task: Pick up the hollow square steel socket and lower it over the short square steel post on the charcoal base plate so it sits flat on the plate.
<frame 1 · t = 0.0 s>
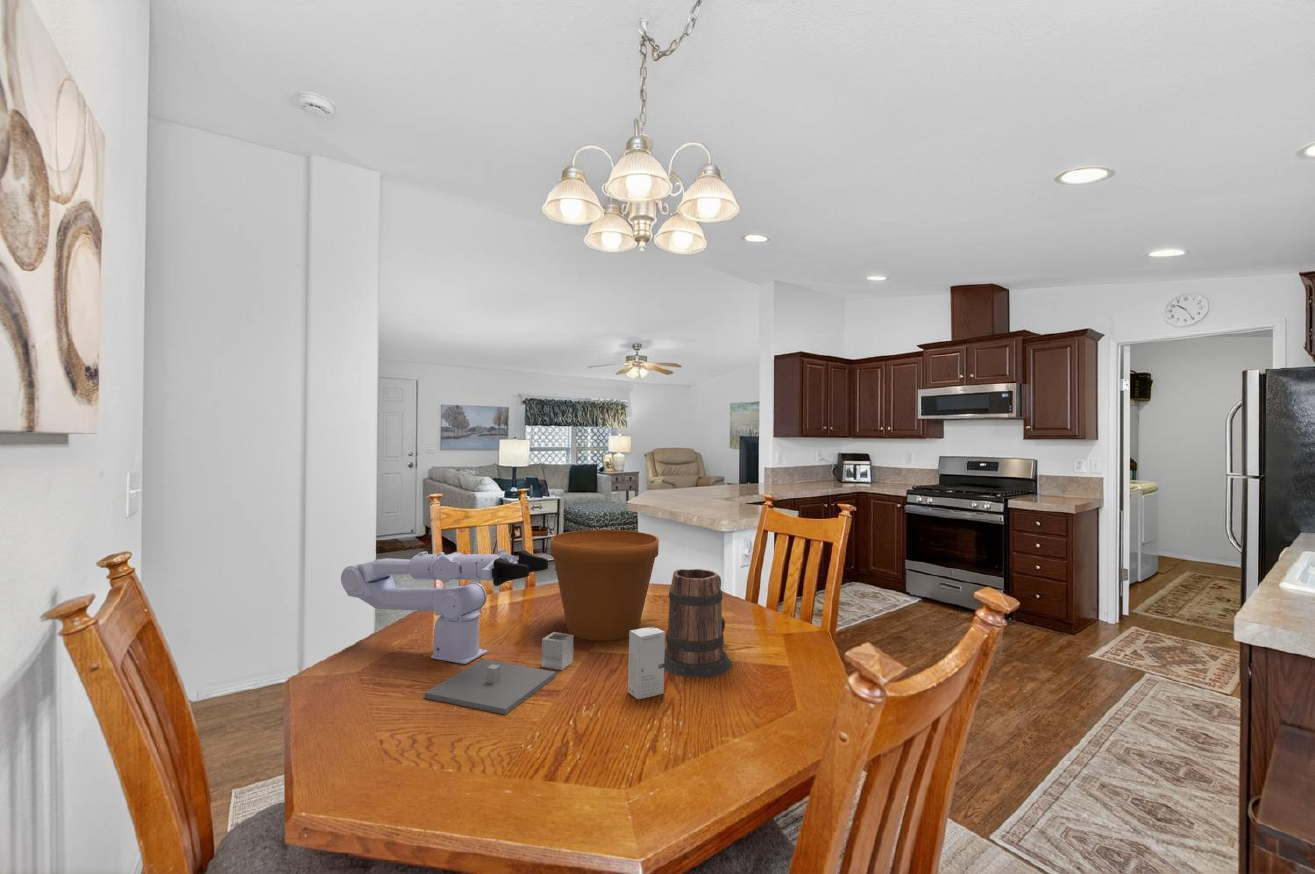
hand: (537, 567, 126), 22 cm above the table, tool horizontal, fingers open, 7 cm apart
skincare box: (645, 693, 115), on the table
flowerpot: (603, 629, 154), on the table
tankard: (700, 658, 134), on the table
square socket: (557, 664, 129), on the table
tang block: (493, 686, 117), on the table
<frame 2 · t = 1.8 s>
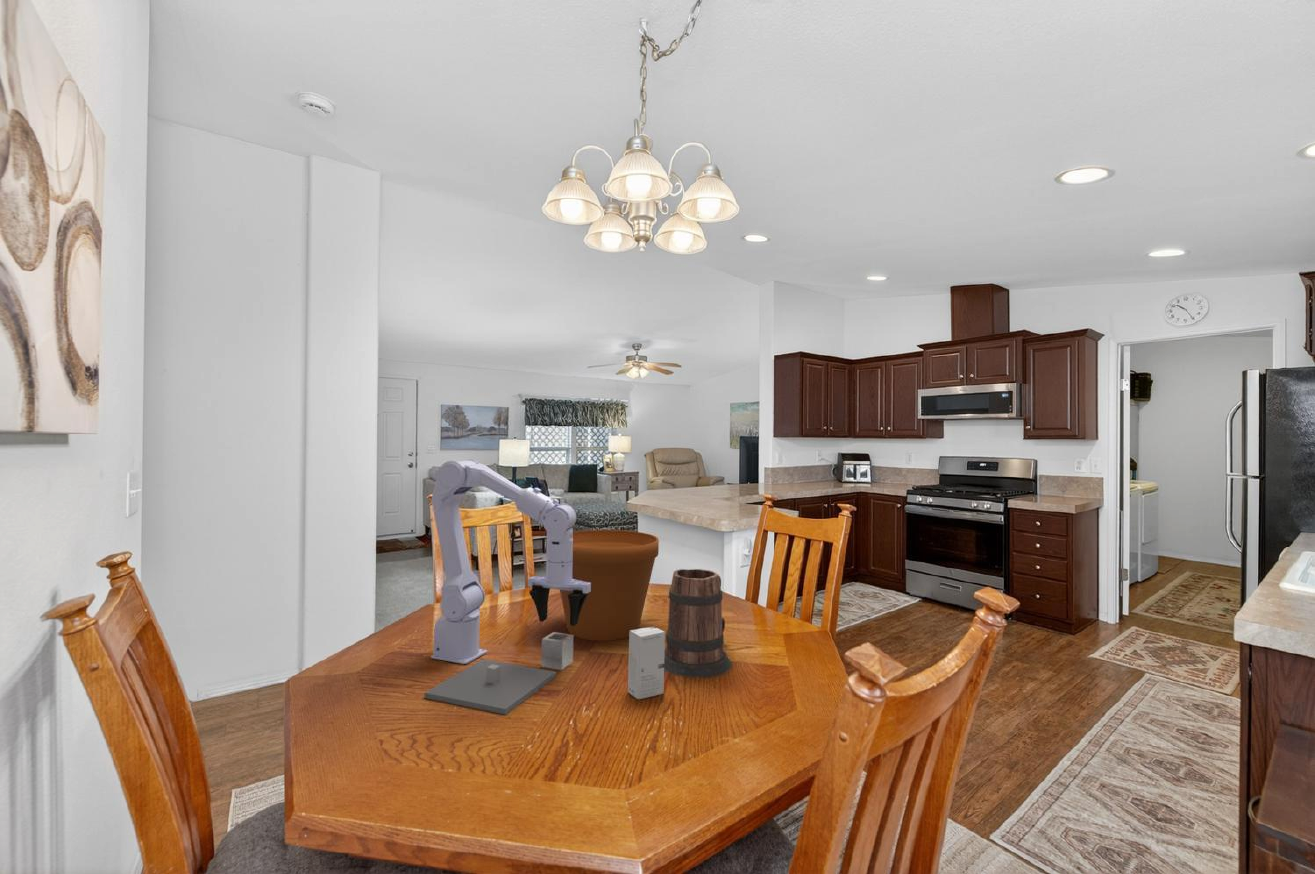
hand: (558, 622, 129), 9 cm above the table, tool pointing down, fingers open, 7 cm apart
nothing on the table moved.
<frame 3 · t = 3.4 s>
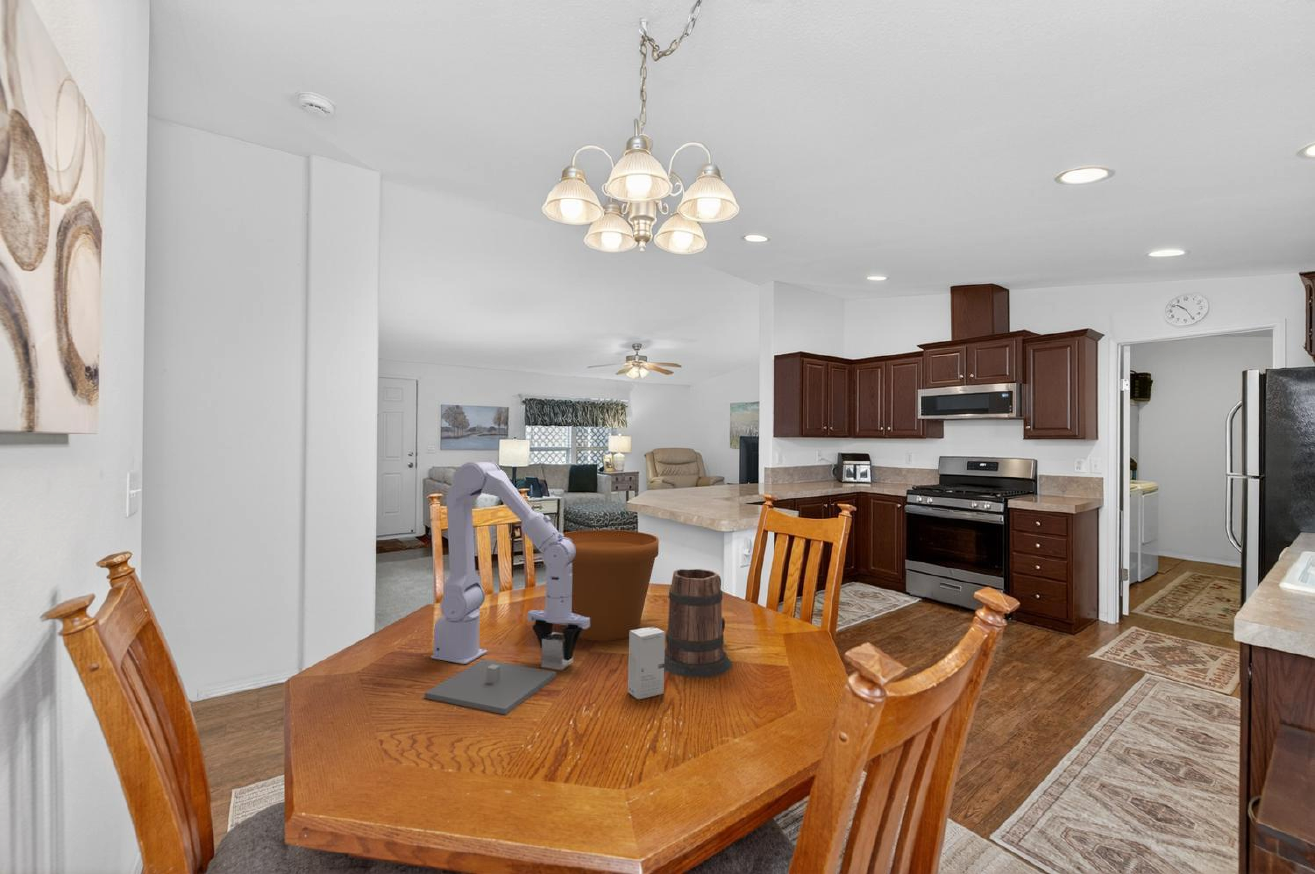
hand: (557, 656, 129), 2 cm above the table, tool pointing down, fingers closed on square socket, 5 cm apart
square socket: (557, 664, 129), on the table, touching gripper
everything else where it was.
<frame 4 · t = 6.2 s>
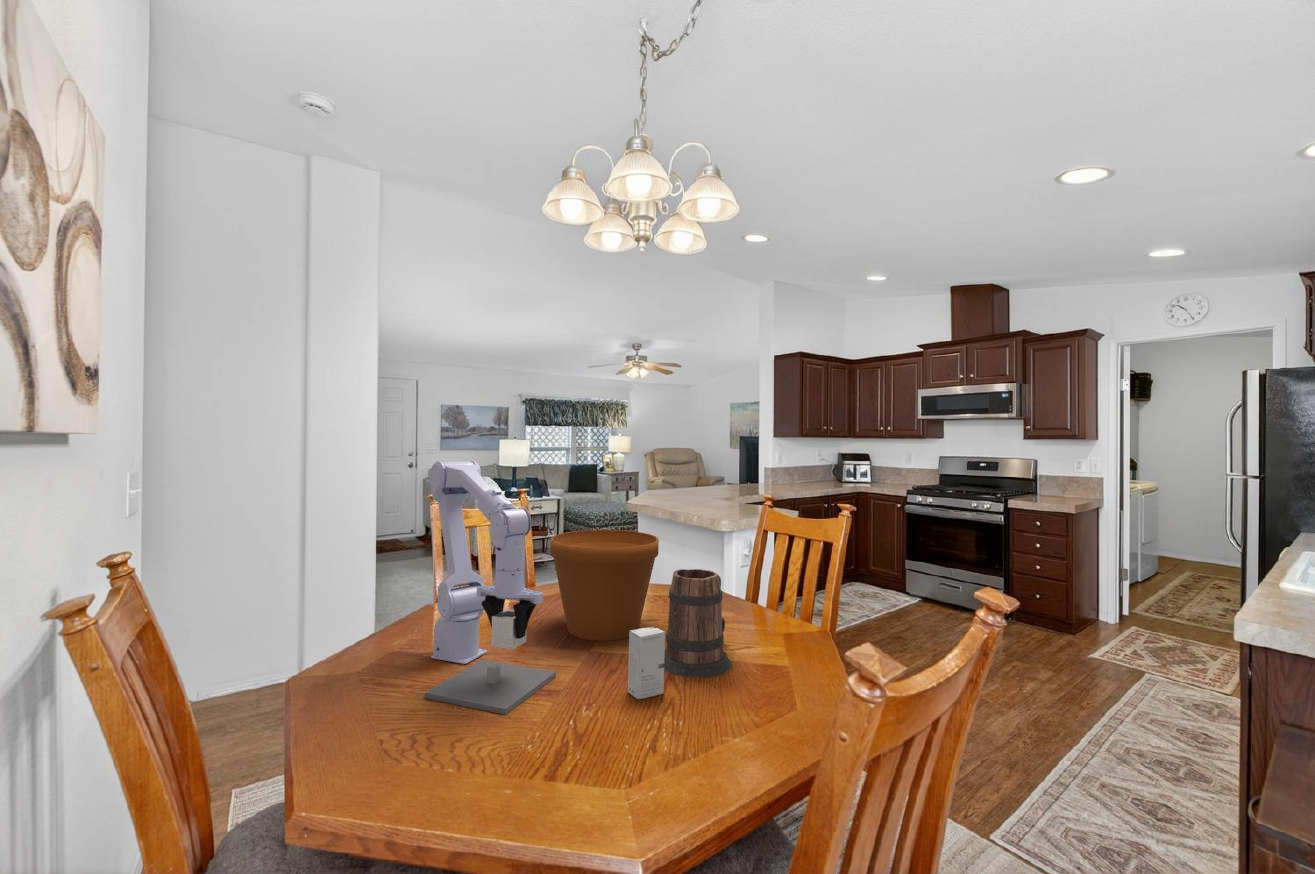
hand: (508, 635, 119), 9 cm above the table, tool pointing down, fingers closed on square socket, 5 cm apart
square socket: (509, 643, 119), point 8 cm above the table, touching gripper
everything else where it was.
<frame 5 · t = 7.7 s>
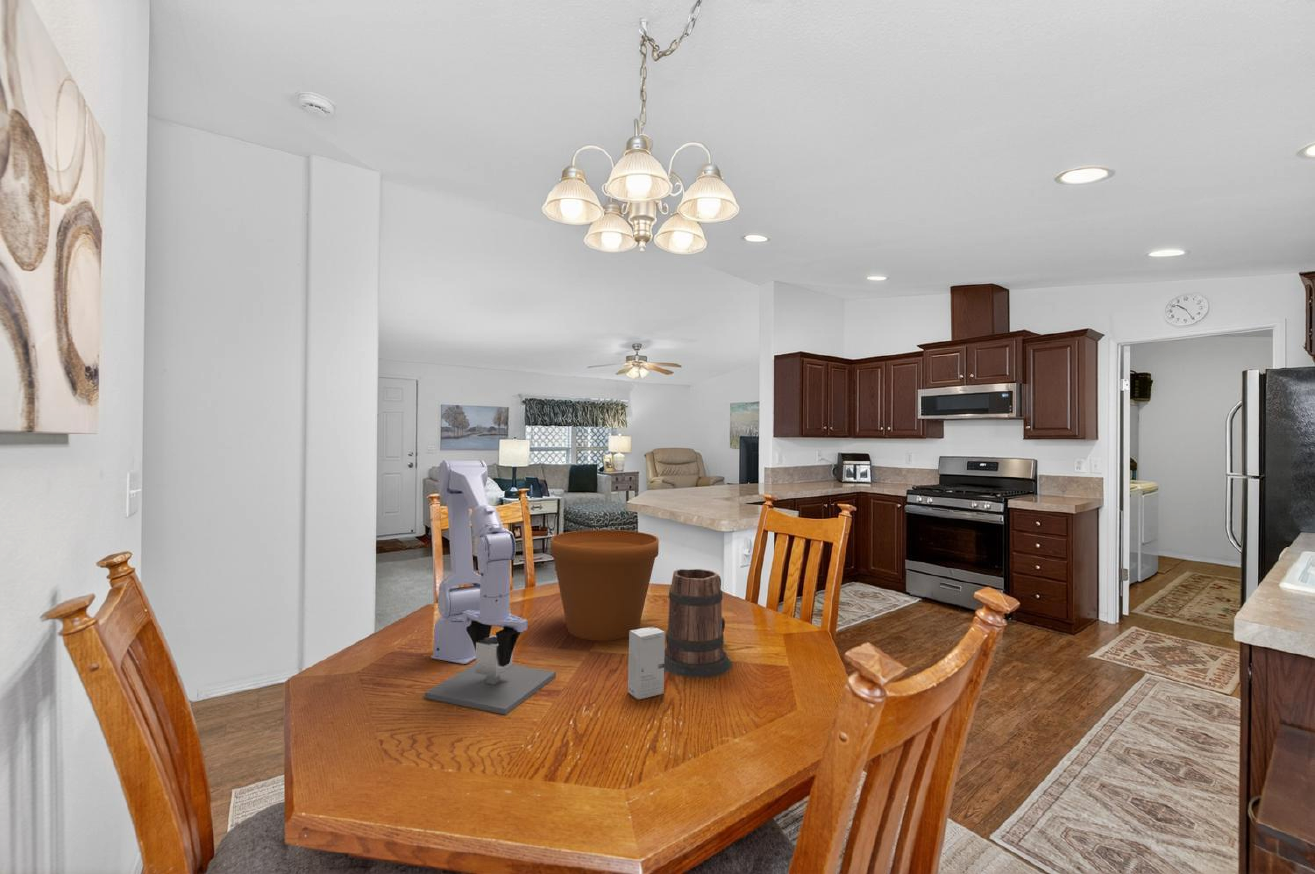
hand: (493, 662, 117), 5 cm above the table, tool pointing down, fingers closed on square socket, 5 cm apart
square socket: (494, 670, 117), point 3 cm above the table, touching gripper
everything else where it was.
when the fingers open (3 cm above the table, at t = 9.1 s): square socket stays where it is, resting on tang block.
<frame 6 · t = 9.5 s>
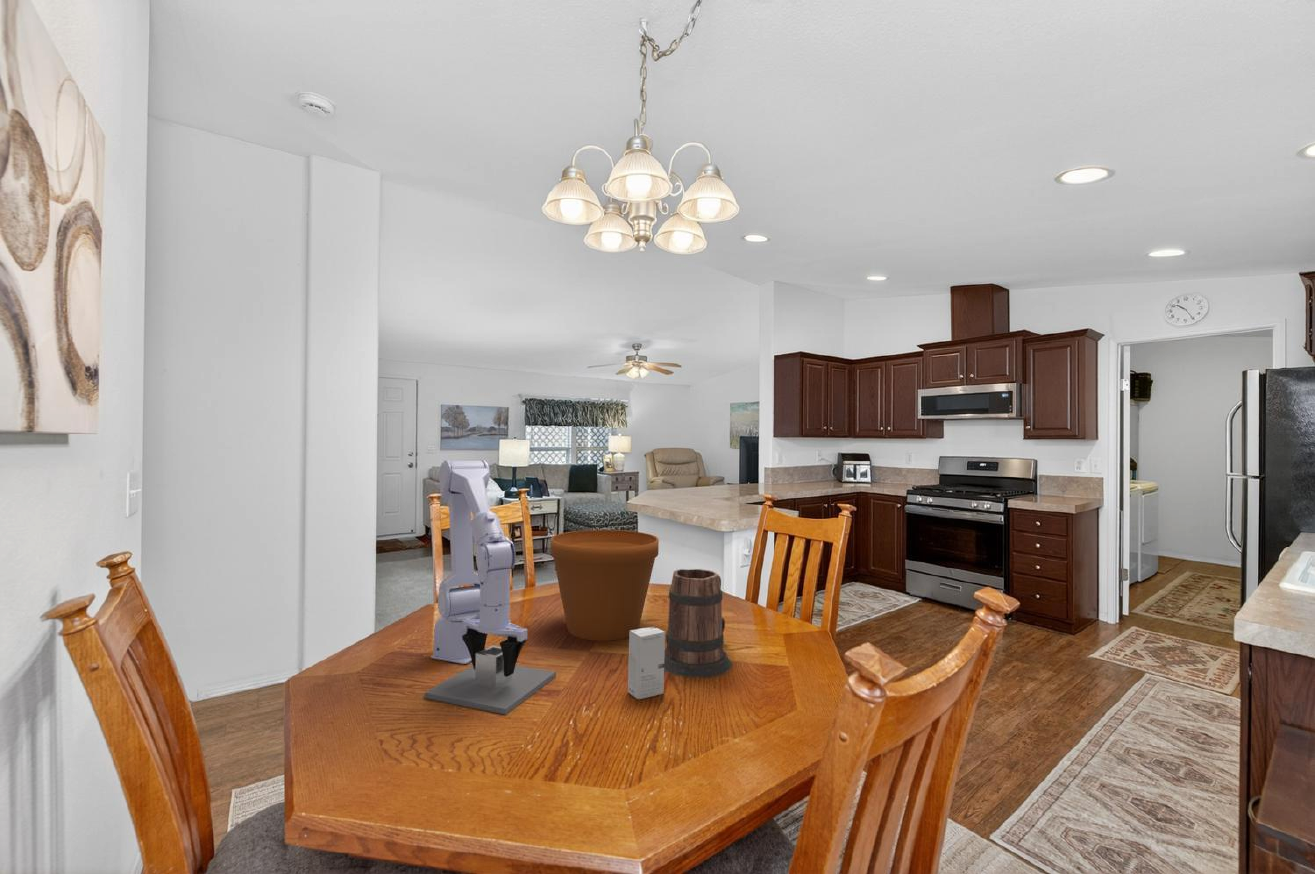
hand: (493, 671, 117), 3 cm above the table, tool pointing down, fingers open, 7 cm apart
square socket: (493, 681, 117), point 1 cm above the table, touching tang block
everything else where it was.
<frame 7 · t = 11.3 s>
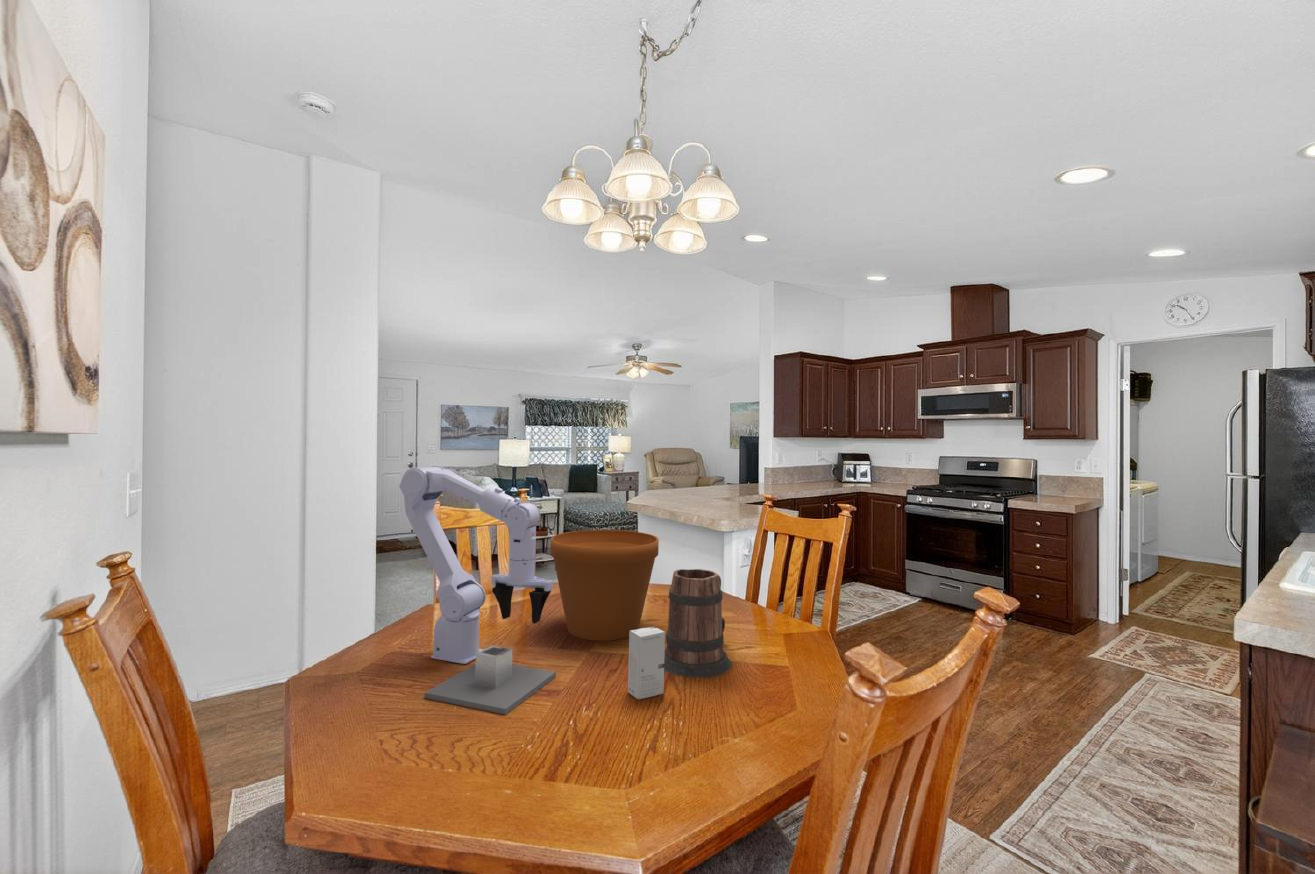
hand: (521, 620, 129), 9 cm above the table, tool pointing down, fingers open, 7 cm apart
nothing on the table moved.
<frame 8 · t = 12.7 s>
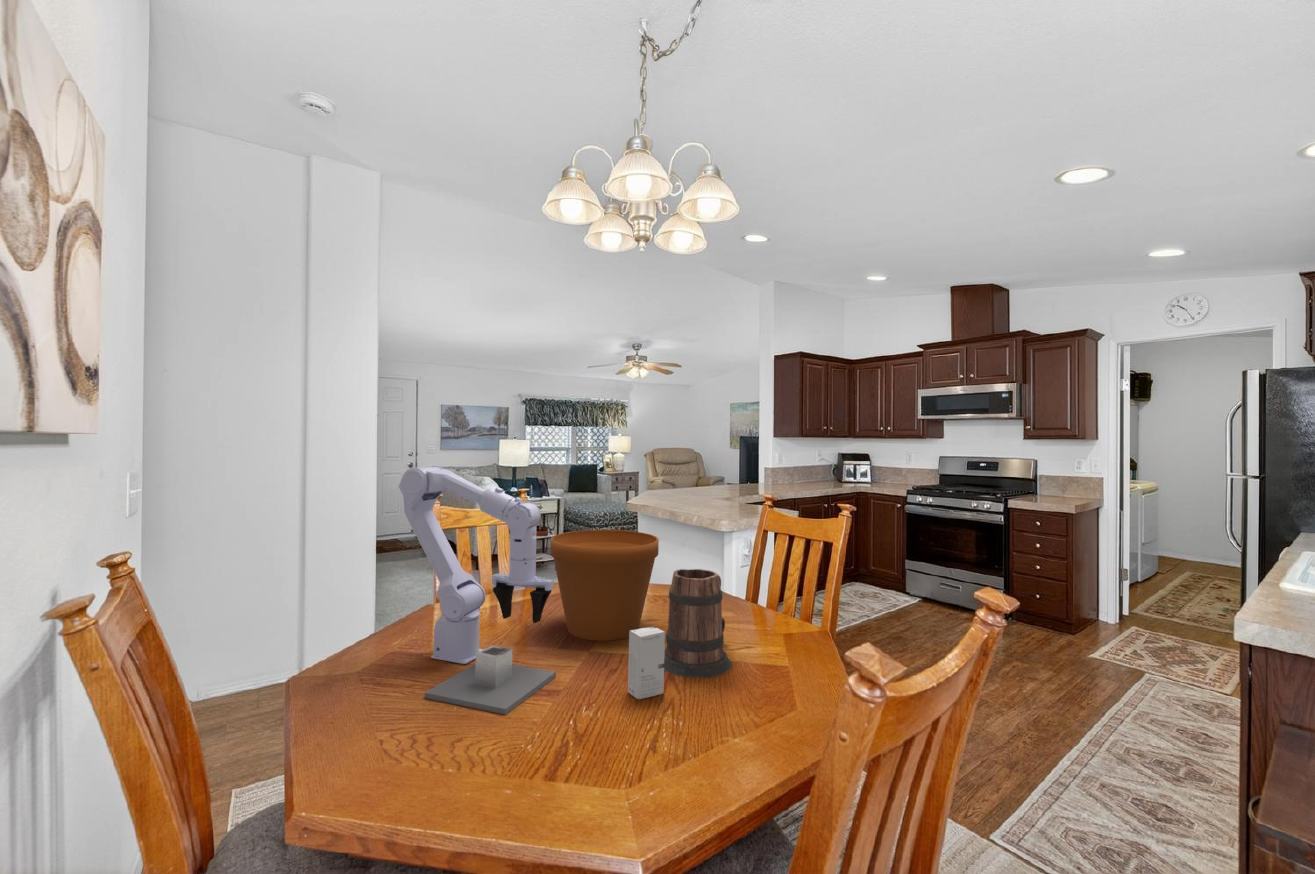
hand: (521, 619, 130), 9 cm above the table, tool pointing down, fingers open, 7 cm apart
nothing on the table moved.
at the end: square socket 0.1 cm off-centre on the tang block, point 1.0 cm above the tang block's base; square socket tilted 0°; the gripper is holding nothing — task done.
